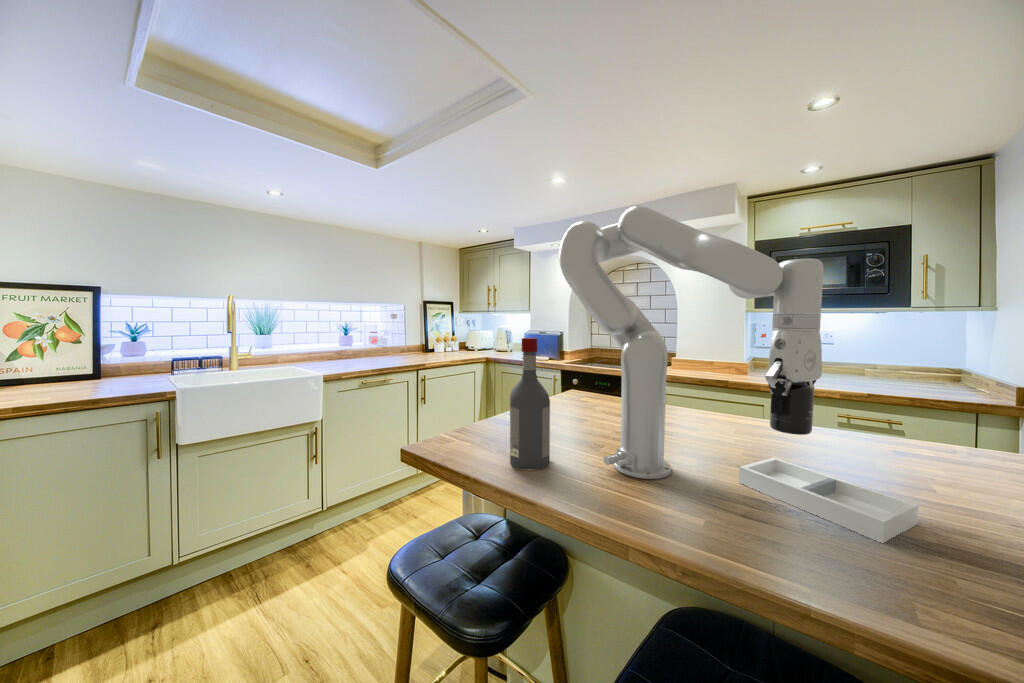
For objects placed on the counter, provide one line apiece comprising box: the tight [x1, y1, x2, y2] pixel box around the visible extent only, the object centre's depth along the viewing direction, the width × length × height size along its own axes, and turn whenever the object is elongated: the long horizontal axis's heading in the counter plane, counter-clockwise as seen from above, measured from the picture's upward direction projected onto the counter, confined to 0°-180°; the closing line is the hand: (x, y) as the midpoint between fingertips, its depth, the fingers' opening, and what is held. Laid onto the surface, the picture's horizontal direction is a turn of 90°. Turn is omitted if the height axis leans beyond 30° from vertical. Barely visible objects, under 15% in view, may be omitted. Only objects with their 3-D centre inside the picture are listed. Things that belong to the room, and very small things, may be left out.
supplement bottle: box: [769, 377, 815, 436], centre depth 74 cm, size 7×7×12 cm
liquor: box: [509, 337, 551, 470], centre depth 88 cm, size 9×9×30 cm
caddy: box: [738, 456, 919, 544], centre depth 71 cm, size 12×23×4 cm, turn 25°
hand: (791, 411), depth 75 cm, fingers closed on supplement bottle, 6 cm apart
